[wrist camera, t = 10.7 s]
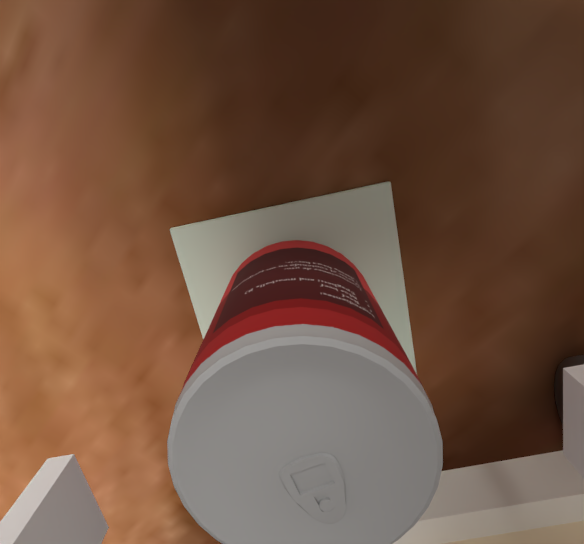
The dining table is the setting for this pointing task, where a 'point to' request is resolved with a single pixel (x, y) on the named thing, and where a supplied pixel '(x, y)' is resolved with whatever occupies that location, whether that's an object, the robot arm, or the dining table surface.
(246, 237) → the mat
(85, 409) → the dining table surface
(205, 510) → the canned food
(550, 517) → the trolley
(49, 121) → the dining table surface
